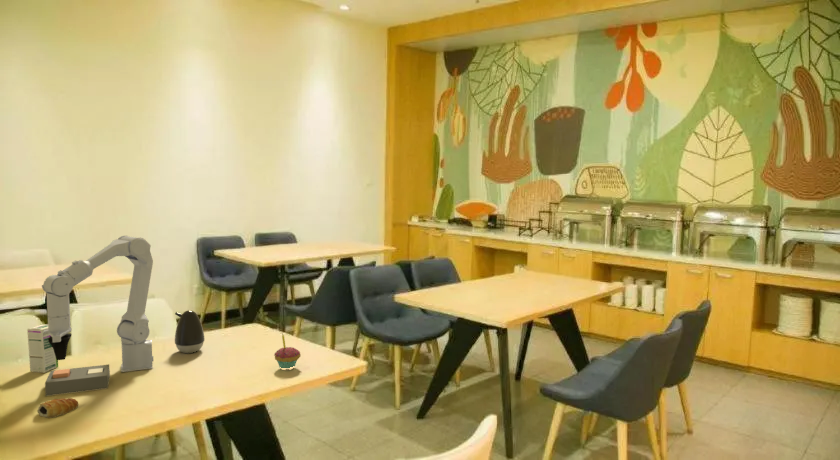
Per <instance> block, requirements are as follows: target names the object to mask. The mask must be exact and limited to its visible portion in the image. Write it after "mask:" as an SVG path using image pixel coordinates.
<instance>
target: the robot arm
mask: <svg viewBox="0 0 840 460" xmlns="http://www.w3.org/2000/svg"><path fill="white" fill-rule="evenodd" d="M151 246H152V245H151V244H150V243H149V242H148V241H147V240H146V238H143V237H137V236H136V237H135V236H129V235H121V236H119V237H118V238H116V239H114V240H112V241H111V242H110V243H109V244H108V245H107V246H104V248H102V249H101V250H99V251H97V253H95V254H94V255H92V256H90V257H89V258H87V260H83V259H79V260H74V261H72V262H71V265H69V266H68V267H66V268H65V269H62V270H58V271H57V274H52V275H49V276H47V277H46V278H45V280H44V281H43V284H42V285H41V288H42V290H43V291H44V293H45V294H46V307H47V308H46V311H47V324H48V330H44V334H49V335H50V337H49V339H48V341H49V343H50V344H51V345H52V347H53V350H54V353H55V356H56V359H57V360H58V361H64V360H66V358H67V353H68V352H67V351H68V346H69V341H70V339H71V338H72V333H71V332H72V331H73V330H72V326H71V307H70V306H71V305H70V293H71V292H72V291H73V288H74V287H75V286H77V285H78V284H80V283H81V282H83V281H84V280H86V279H87V278H89V277H91V276H92V275H93V272H94V269H96V268H99V266H101V265H103V264H105V263H107V262H109V261H111V260H112V259H115V258H116V257H125V258H127V259H128V260H129V262H131V263H132V264H133V272H132V278H131V284H130V290H129V297H128V302H127V308H126V312H125V313H124V314H123V315H122V316H121V319H120V322H119V324H118V325H117V328H116V333H117V335H118V337H119V338H120V340H121V366H120V372H121V373H124V372H132V371H133V372H134V371H143V370H151V369H153V362H154V355H153V340H152V339H148V338H149V335H150V328H149V319H148V317H147V314H146V307H147V301H148V296H149V295H148V294H149V288H150V284H151V283H150V282H151V276H152V270H153V264H154V260H153V256H152V253H151Z"/></svg>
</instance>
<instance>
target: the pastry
mask: <svg viewBox="0 0 840 460" xmlns="http://www.w3.org/2000/svg"><path fill="white" fill-rule="evenodd" d="M78 407H79V401H78V400H76V398H71V397H69V398H65V397H63V398H52V399H51V400H46V401H44V402H42V403H40V404H39V406H38V408H37V414H38V415H39V416H40V417H43V418H48V419H50V418H57V417H58V416H60V415H62V416H64V415H66V414H67V413H71V412H73V411H74V410H76V409H77V408H78Z"/></svg>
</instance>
